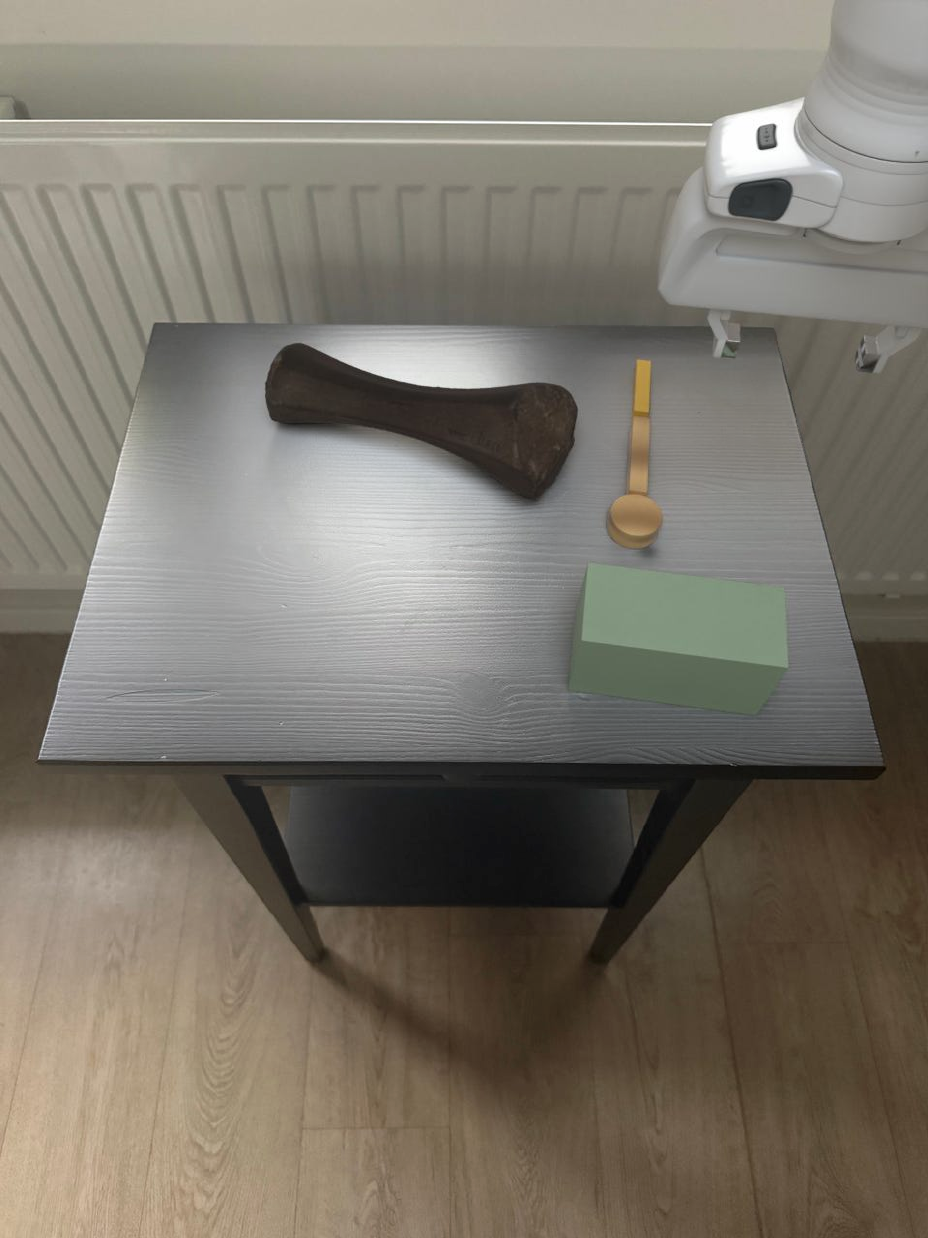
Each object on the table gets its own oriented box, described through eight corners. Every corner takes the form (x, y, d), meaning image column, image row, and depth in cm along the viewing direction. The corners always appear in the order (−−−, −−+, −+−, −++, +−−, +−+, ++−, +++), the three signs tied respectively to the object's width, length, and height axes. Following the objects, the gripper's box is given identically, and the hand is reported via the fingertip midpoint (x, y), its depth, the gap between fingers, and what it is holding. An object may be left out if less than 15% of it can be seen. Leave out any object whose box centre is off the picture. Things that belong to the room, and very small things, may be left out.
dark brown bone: (574, 480, 89) (303, 436, 95) (588, 369, 84) (301, 330, 90) (549, 522, 80) (251, 470, 86) (563, 400, 75) (245, 354, 81)
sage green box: (754, 640, 78) (784, 587, 71) (756, 716, 74) (788, 667, 68) (574, 616, 79) (587, 562, 72) (567, 690, 75) (581, 640, 68)
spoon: (613, 431, 90) (617, 413, 88) (661, 437, 90) (666, 419, 88) (605, 545, 83) (609, 529, 81) (657, 552, 83) (663, 535, 81)
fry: (648, 371, 94) (651, 360, 93) (646, 422, 91) (648, 412, 89) (634, 369, 94) (637, 358, 93) (631, 420, 91) (634, 410, 89)
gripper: (1057, 147, 52) (948, 341, 64) (684, 117, 54) (645, 313, 65) (1079, 218, 49) (960, 409, 61) (682, 184, 50) (641, 377, 62)
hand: (794, 359), depth 63 cm, fingers open, 8 cm apart
